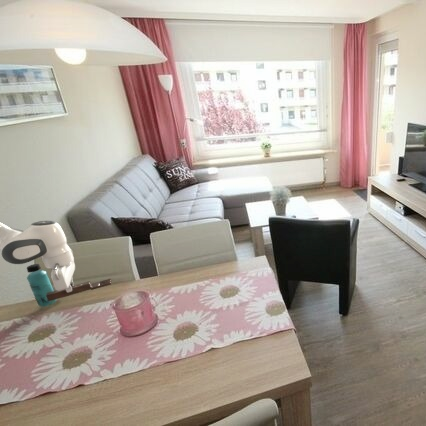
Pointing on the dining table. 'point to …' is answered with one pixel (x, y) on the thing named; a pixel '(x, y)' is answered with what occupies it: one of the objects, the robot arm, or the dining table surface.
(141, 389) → the dining table surface
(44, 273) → the beverage bottle
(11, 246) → the robot arm
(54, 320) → the dining table surface
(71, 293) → the brown long bar
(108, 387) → the dining table surface
